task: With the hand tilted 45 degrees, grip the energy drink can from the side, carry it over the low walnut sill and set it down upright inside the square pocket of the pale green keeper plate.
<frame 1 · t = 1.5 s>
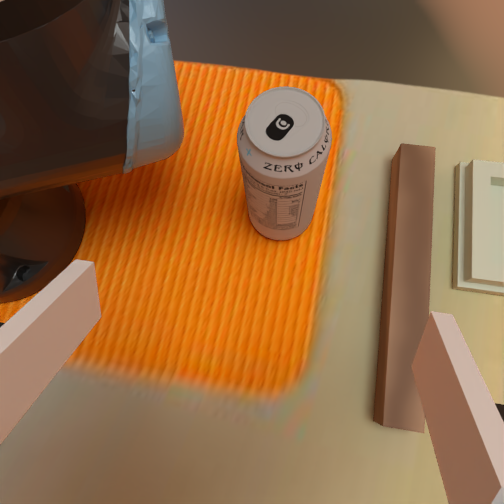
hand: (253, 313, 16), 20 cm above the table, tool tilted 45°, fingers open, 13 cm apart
walnut sill: (400, 281, 36), on the table
energy drink can: (280, 214, 38), on the table
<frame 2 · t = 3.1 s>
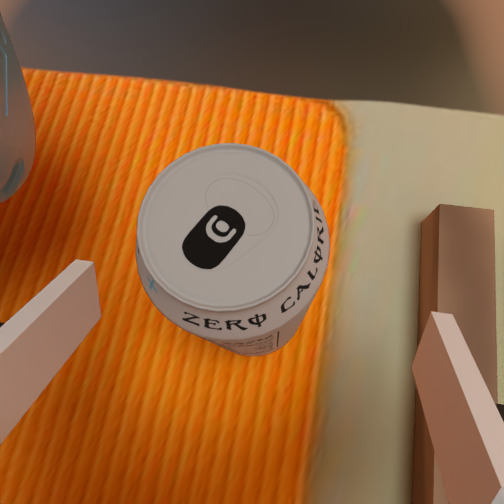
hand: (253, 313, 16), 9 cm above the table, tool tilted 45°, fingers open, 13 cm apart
walnut sill: (442, 423, 23), on the table
energy drink can: (254, 307, 25), on the table
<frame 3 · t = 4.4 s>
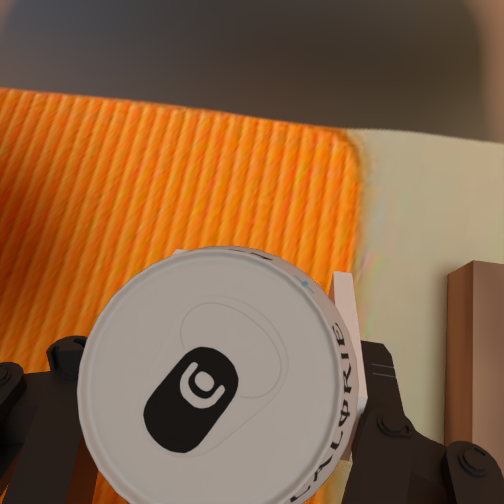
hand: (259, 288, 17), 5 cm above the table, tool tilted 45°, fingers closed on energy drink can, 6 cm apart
energy drink can: (252, 374, 22), on the table, touching gripper
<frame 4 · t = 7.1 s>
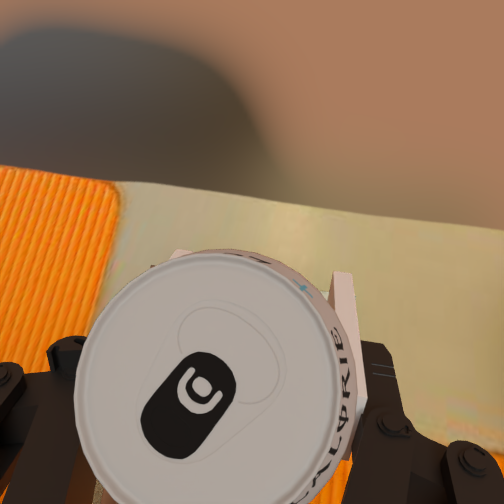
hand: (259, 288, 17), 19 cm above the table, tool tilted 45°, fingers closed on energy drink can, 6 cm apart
energy drink can: (252, 376, 22), point 14 cm above the table, touching gripper
when the fingers open (8 cm above the table, at t = 9.6 s): energy drink can drops 1 cm, resting on keeper plate.
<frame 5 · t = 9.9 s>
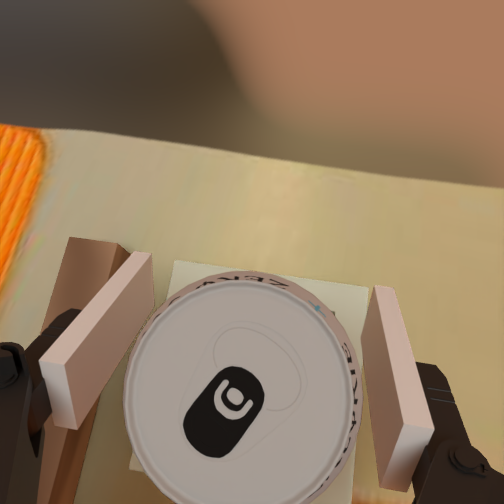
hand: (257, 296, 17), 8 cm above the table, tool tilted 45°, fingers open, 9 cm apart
keeper plate: (255, 374, 24), on the table
walnut sill: (60, 450, 23), on the table
energy drink can: (252, 375, 23), point 1 cm above the table, touching keeper plate
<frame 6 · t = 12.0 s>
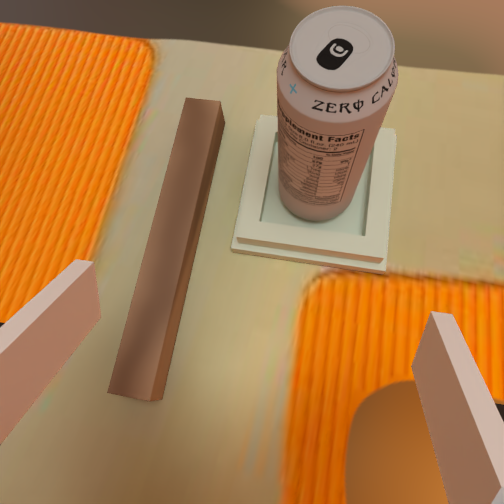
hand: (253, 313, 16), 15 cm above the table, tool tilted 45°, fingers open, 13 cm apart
keeper plate: (315, 195, 34), on the table
walnut sill: (179, 244, 33), on the table
energy drink can: (315, 192, 33), point 1 cm above the table, touching keeper plate
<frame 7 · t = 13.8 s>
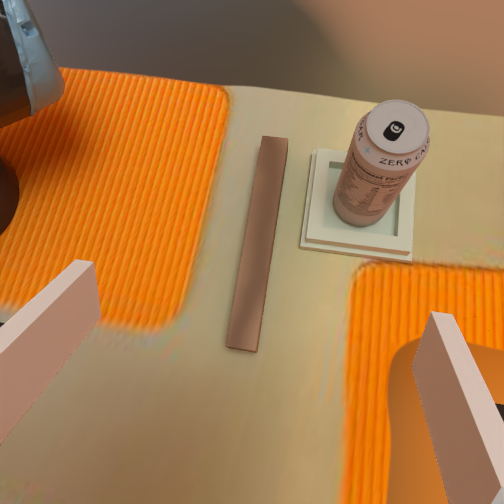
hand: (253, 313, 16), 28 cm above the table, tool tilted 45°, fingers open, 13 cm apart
keeper plate: (357, 206, 46), on the table
walnut sill: (260, 243, 46), on the table
energy drink can: (358, 204, 46), point 1 cm above the table, touching keeper plate
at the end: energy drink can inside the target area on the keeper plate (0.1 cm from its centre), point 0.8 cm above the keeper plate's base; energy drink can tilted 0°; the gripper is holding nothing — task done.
